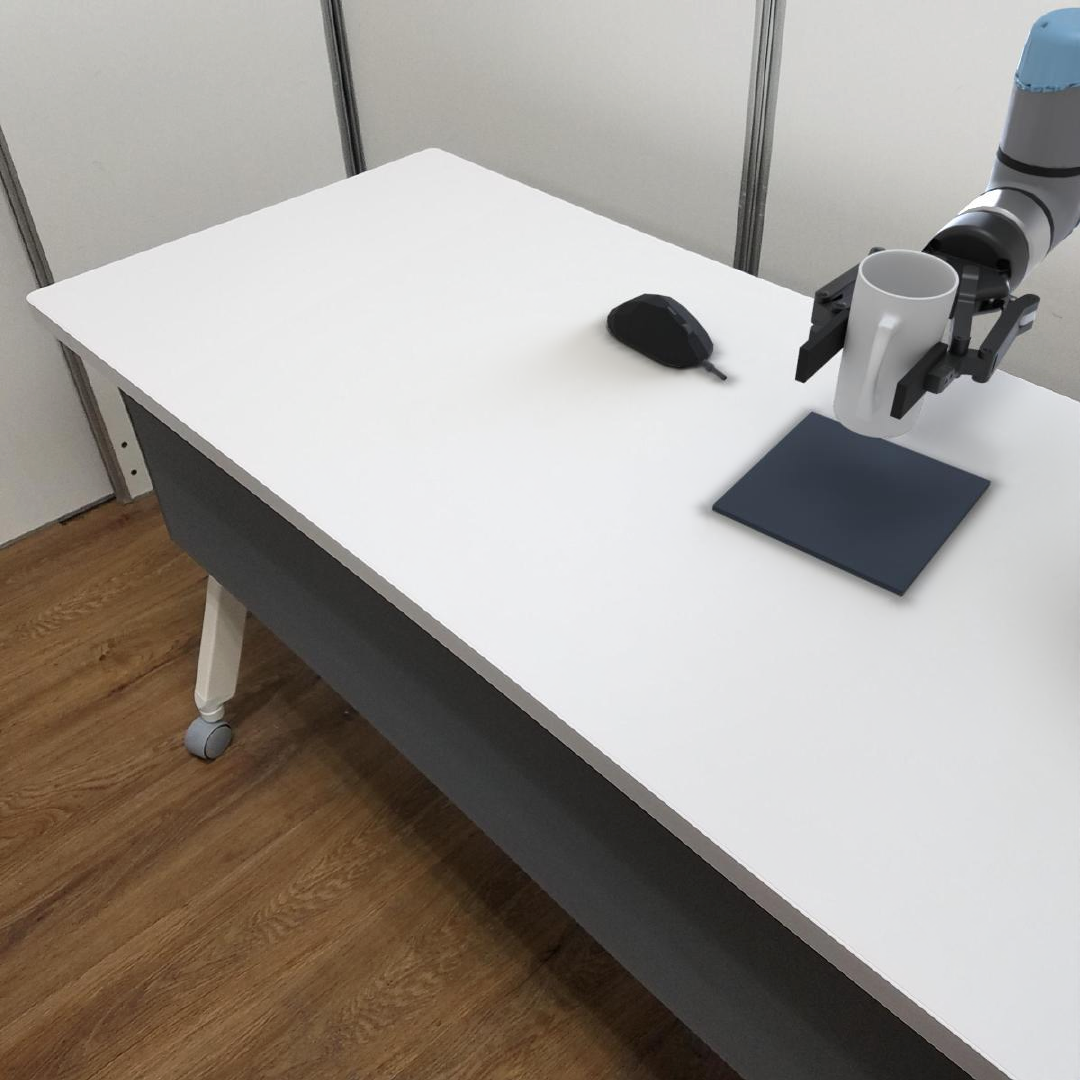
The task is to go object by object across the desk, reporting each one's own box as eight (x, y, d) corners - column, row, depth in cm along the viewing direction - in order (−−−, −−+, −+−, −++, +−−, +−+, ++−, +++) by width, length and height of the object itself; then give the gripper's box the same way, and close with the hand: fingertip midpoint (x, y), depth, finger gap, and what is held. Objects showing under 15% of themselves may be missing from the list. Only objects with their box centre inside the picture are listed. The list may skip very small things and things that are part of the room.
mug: (843, 379, 90) (873, 241, 81) (929, 402, 87) (968, 262, 79) (804, 450, 83) (832, 307, 75) (895, 476, 81) (935, 332, 73)
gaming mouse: (700, 392, 101) (703, 354, 99) (593, 326, 110) (594, 289, 107) (750, 367, 104) (754, 329, 101) (642, 305, 113) (644, 268, 110)
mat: (989, 485, 91) (991, 480, 90) (901, 596, 81) (902, 591, 81) (810, 415, 98) (811, 410, 98) (711, 510, 89) (712, 505, 89)
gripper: (1092, 333, 89) (973, 479, 76) (863, 262, 98) (722, 381, 85) (1122, 245, 84) (1001, 385, 71) (879, 179, 93) (731, 292, 80)
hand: (849, 383), depth 78 cm, fingers closed on mug, 7 cm apart
